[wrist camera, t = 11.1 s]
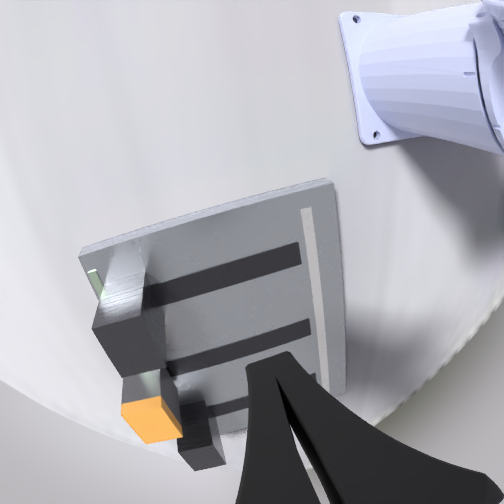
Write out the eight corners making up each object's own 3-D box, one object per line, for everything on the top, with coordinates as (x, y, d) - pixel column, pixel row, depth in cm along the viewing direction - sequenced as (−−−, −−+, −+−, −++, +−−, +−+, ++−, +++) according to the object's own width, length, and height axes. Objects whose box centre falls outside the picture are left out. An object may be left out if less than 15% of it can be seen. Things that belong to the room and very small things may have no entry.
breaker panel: (323, 177, 18) (374, 204, 13) (340, 383, 26) (366, 426, 22) (83, 247, 16) (56, 297, 12) (185, 431, 24) (193, 482, 20)
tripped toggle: (159, 356, 18) (161, 406, 15) (177, 389, 20) (182, 437, 16) (124, 365, 18) (120, 415, 15) (145, 396, 20) (145, 444, 16)
